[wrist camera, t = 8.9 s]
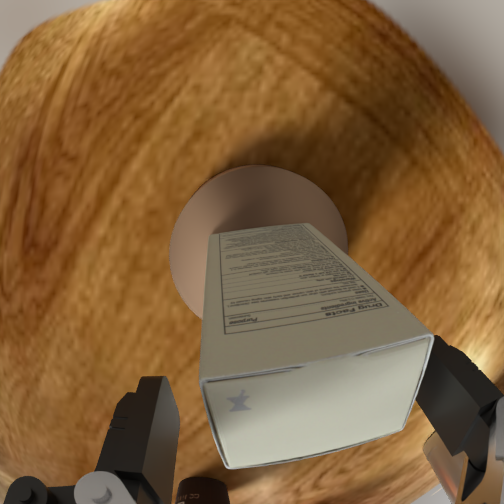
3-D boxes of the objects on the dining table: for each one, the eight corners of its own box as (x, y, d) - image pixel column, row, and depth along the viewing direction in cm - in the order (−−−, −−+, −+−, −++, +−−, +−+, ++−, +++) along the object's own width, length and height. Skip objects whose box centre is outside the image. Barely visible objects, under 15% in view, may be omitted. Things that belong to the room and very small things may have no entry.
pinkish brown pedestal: (331, 159, 20) (347, 162, 17) (331, 304, 24) (344, 324, 21) (166, 174, 19) (156, 178, 17) (190, 321, 23) (186, 344, 20)
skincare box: (217, 299, 19) (214, 474, 8) (207, 232, 18) (181, 380, 6) (318, 286, 20) (407, 435, 8) (316, 220, 18) (441, 334, 7)
